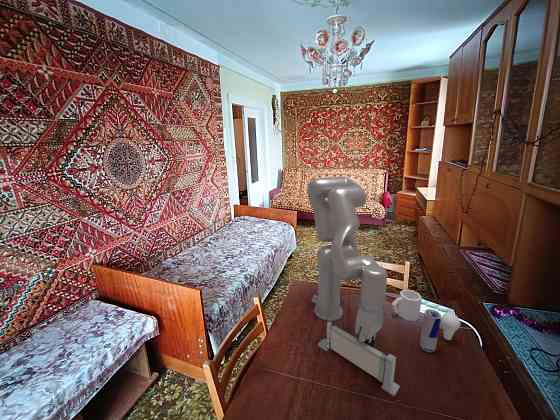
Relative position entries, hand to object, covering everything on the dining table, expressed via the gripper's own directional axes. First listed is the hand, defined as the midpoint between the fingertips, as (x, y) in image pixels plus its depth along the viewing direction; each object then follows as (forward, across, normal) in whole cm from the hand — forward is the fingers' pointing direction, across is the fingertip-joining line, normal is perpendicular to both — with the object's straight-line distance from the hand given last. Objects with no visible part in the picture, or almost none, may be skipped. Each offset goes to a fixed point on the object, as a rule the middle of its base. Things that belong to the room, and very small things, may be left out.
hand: (367, 348), depth 89 cm
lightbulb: (+5, -32, +15) cm, 35 cm away
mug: (+5, -34, -2) cm, 34 cm away
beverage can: (+5, -22, +12) cm, 25 cm away
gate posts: (+5, +4, -2) cm, 7 cm away
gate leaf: (+4, +4, -2) cm, 6 cm away
